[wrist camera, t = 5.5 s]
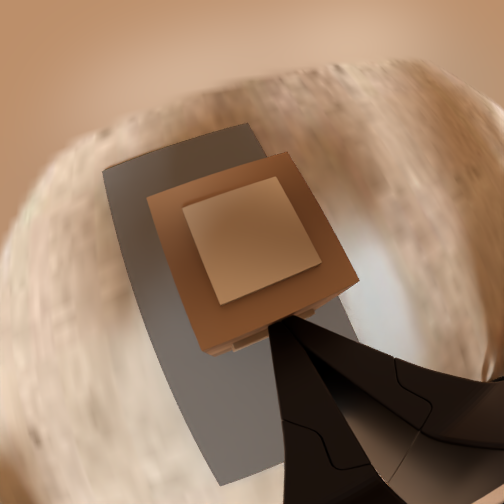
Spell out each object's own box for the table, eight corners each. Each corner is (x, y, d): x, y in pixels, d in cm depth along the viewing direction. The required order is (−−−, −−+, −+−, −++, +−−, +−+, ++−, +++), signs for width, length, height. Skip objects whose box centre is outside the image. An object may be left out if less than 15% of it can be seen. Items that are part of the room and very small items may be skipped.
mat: (381, 404, 15) (385, 405, 15) (220, 482, 13) (220, 486, 12) (246, 127, 20) (247, 122, 19) (104, 175, 18) (102, 171, 17)
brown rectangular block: (301, 323, 15) (371, 282, 8) (216, 360, 15) (204, 358, 7) (264, 244, 17) (293, 146, 9) (182, 275, 16) (144, 193, 8)
